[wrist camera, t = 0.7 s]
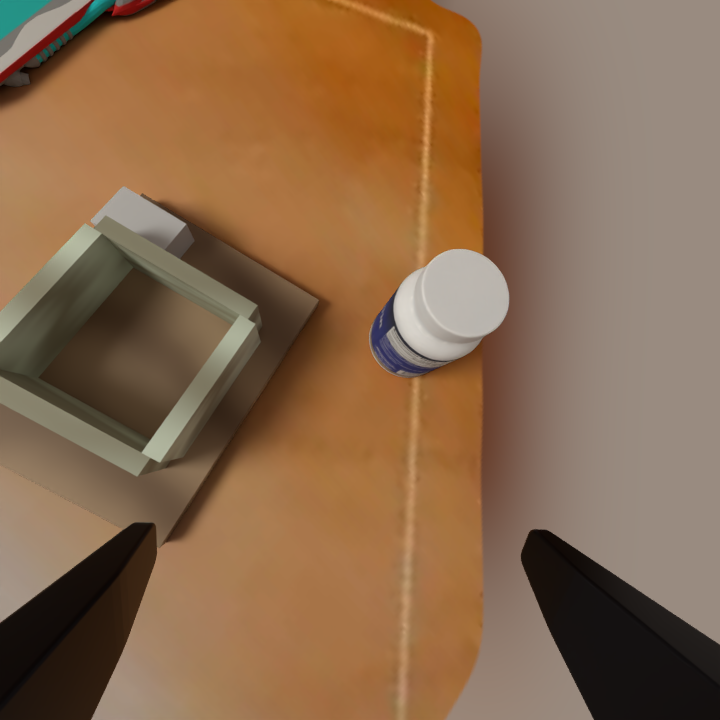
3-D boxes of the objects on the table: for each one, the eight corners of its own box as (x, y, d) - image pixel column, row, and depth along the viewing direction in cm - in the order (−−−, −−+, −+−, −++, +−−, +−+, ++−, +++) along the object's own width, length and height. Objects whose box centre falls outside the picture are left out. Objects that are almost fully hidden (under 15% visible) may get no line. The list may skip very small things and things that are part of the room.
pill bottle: (398, 292, 27) (459, 216, 18) (451, 341, 27) (540, 292, 18) (351, 343, 26) (389, 289, 16) (408, 395, 26) (479, 372, 16)
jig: (165, 542, 21) (128, 576, 16) (-56, 427, 20) (-167, 425, 15) (317, 305, 26) (324, 275, 21) (148, 202, 25) (114, 147, 20)
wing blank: (167, 274, 23) (156, 259, 21) (106, 238, 23) (90, 220, 21) (194, 240, 24) (186, 224, 22) (136, 206, 23) (123, 185, 21)
